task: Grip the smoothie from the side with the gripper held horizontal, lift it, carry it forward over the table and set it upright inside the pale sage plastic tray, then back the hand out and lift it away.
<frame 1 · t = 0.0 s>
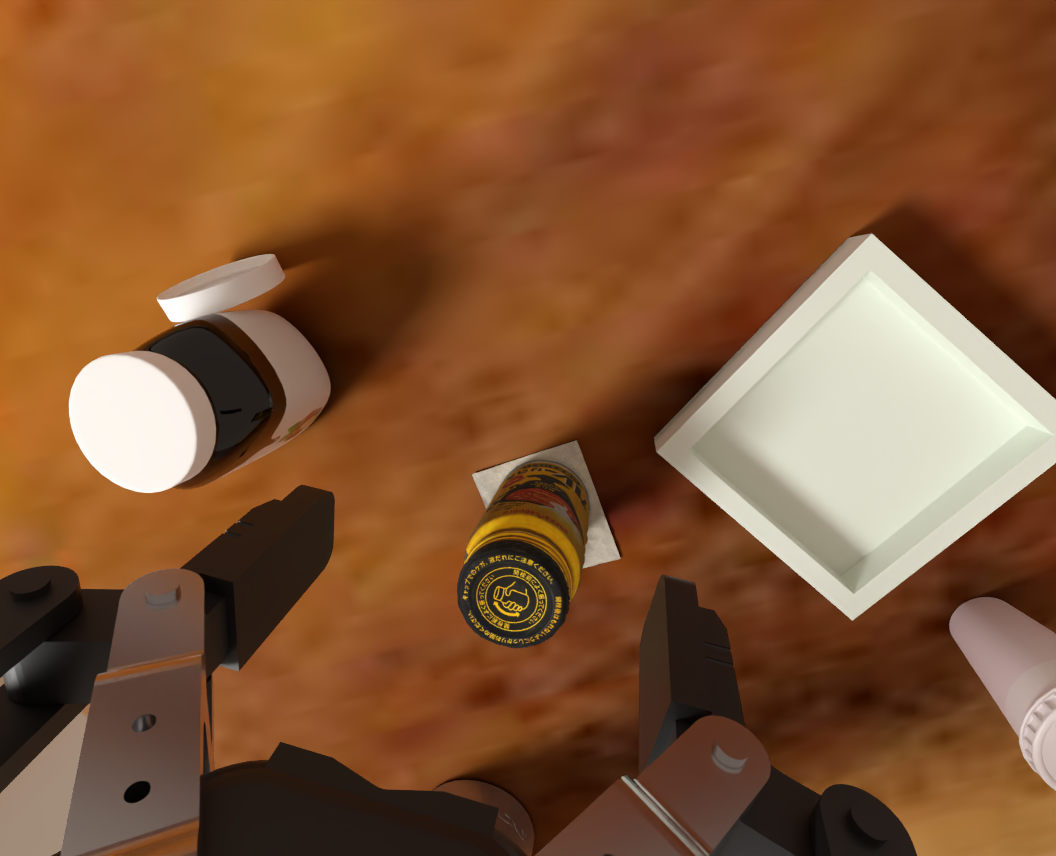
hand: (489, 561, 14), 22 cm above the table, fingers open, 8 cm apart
tray: (840, 429, 33), on the table
spread jar: (268, 351, 38), on the table
condiment: (546, 513, 38), on the table
smoothie: (981, 622, 35), on the table
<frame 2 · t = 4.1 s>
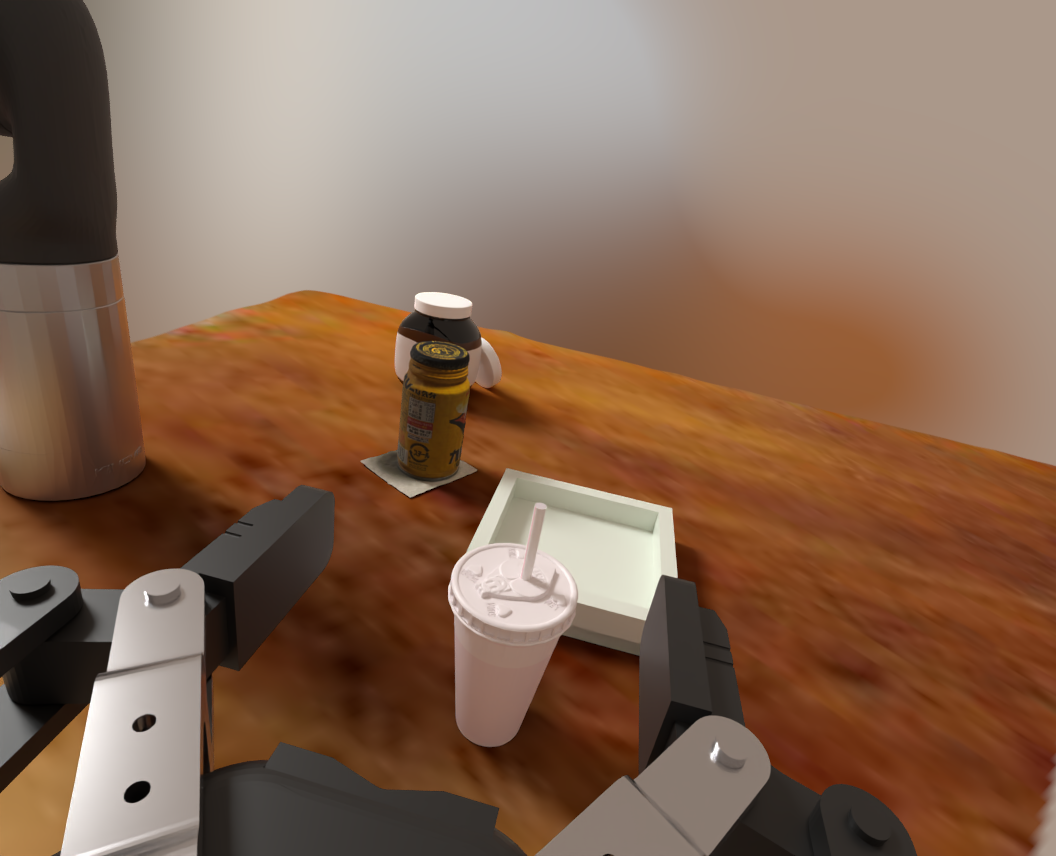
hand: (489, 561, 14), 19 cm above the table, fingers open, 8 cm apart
tray: (571, 566, 45), on the table
spread jar: (448, 389, 74), on the table
condiment: (420, 469, 55), on the table
smoothie: (487, 718, 32), on the table
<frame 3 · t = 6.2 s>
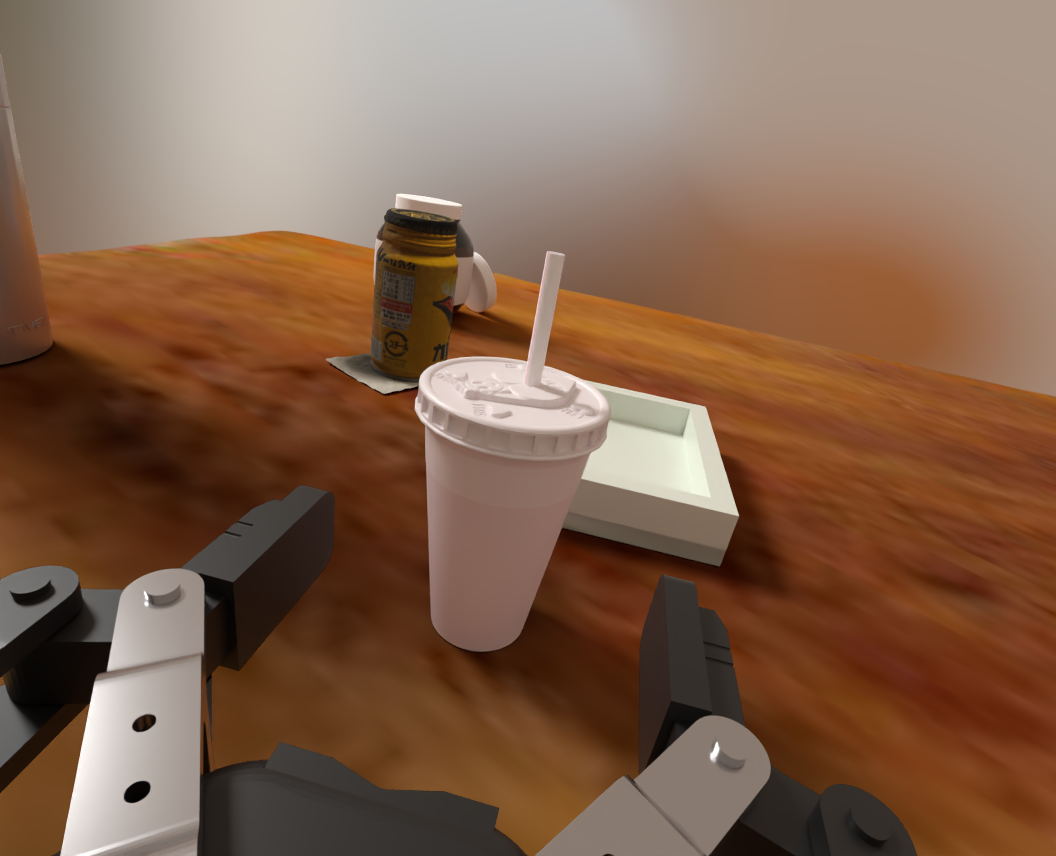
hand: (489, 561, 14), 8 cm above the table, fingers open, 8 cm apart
tray: (584, 465, 36), on the table
spread jar: (435, 311, 65), on the table
condiment: (398, 373, 46), on the table
smoothie: (477, 618, 23), on the table
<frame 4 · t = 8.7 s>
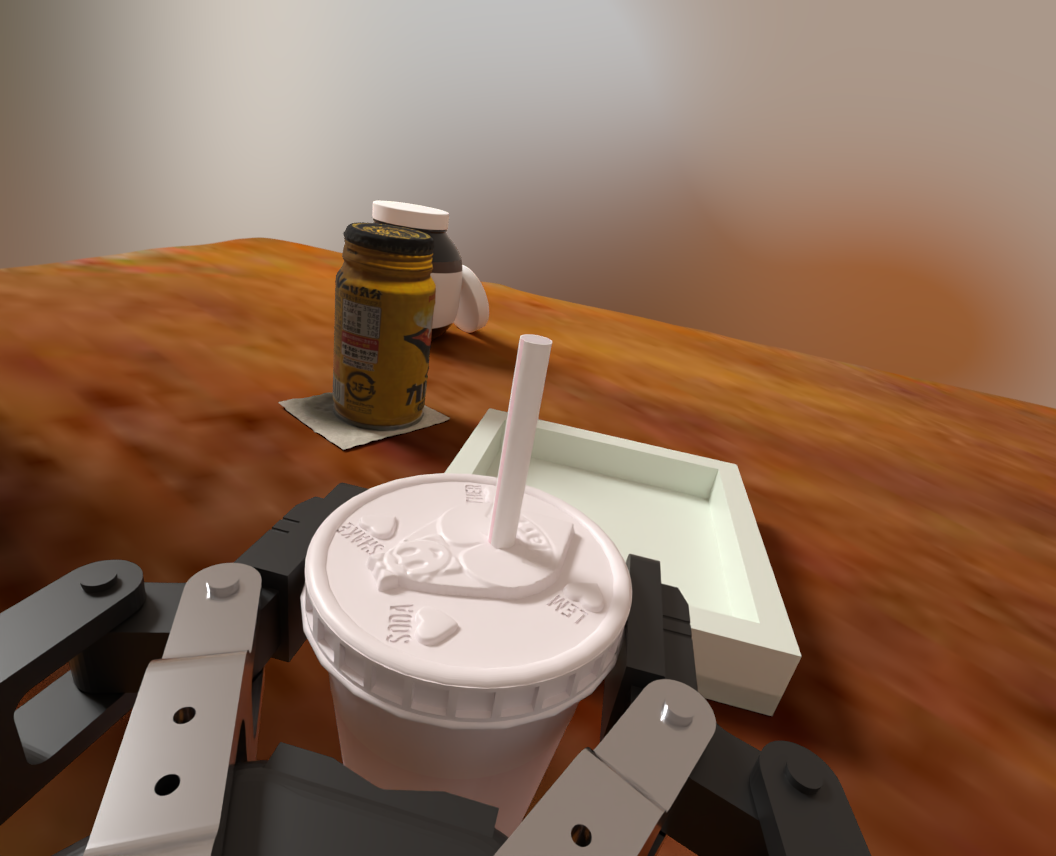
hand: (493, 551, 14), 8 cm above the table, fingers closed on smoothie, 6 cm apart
tray: (589, 548, 28), on the table
spread jar: (420, 332, 58), on the table
condiment: (366, 417, 38), on the table
smoothie: (430, 849, 15), on the table, touching gripper
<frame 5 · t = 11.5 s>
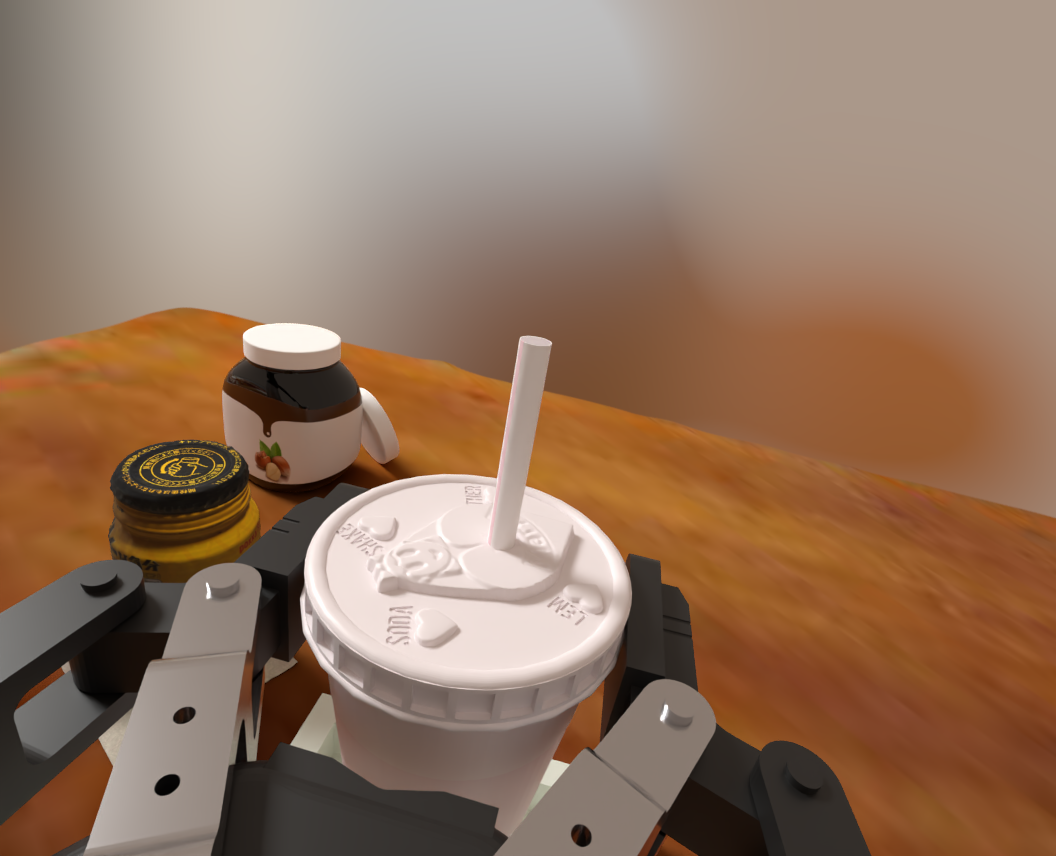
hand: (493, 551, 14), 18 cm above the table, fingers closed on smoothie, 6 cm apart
spread jar: (319, 467, 49), on the table
condiment: (184, 669, 30), on the table
smoothie: (429, 850, 15), point 9 cm above the table, touching gripper
when the fingers open (10 cm above the table, at t = 14.4 s): smoothie drops 1 cm, resting on tray.
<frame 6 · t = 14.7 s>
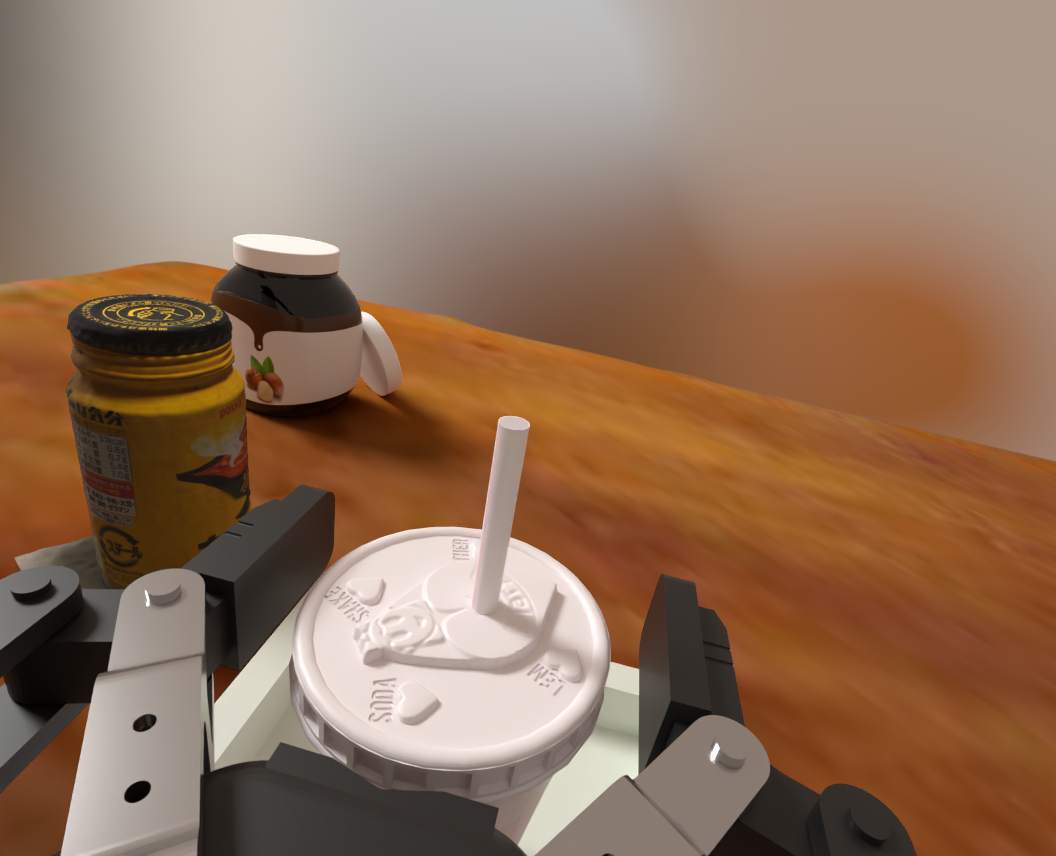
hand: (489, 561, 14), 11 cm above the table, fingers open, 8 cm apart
spread jar: (316, 398, 45), on the table
condiment: (159, 571, 26), on the table
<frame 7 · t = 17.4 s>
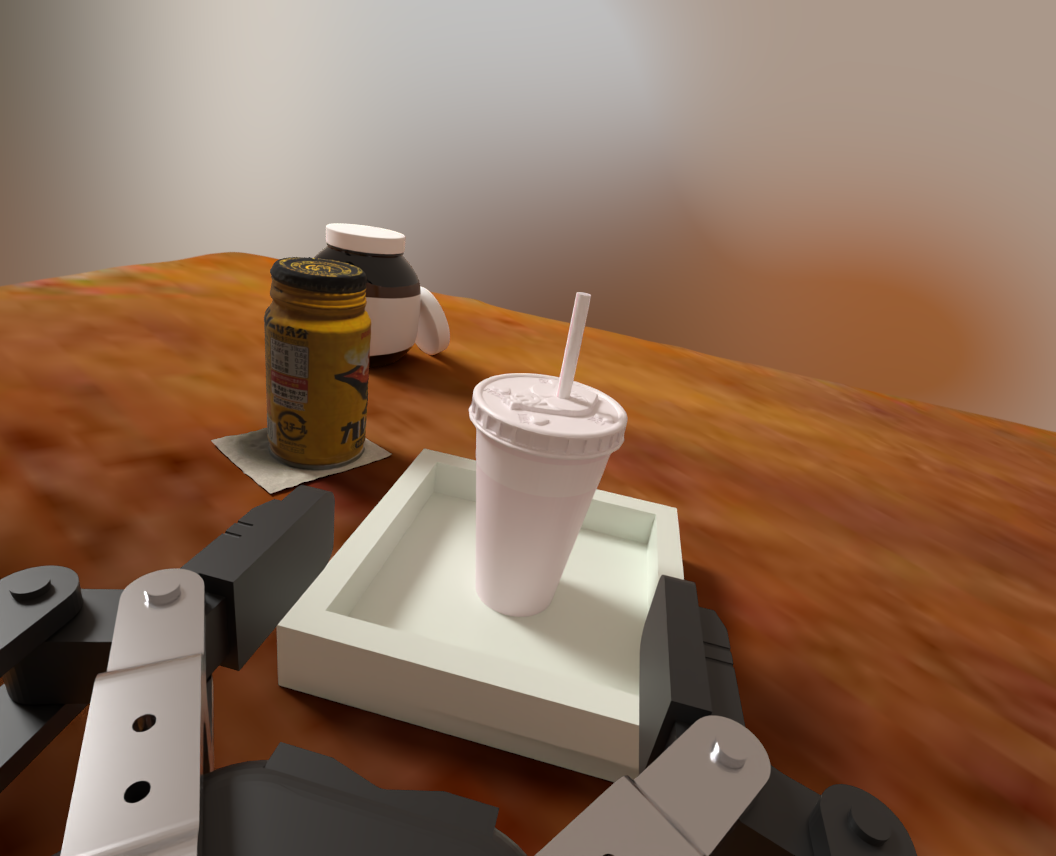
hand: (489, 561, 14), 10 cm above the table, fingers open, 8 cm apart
tray: (512, 603, 27), on the table
spread jar: (380, 355, 57), on the table
condiment: (304, 453, 37), on the table
smoothie: (513, 591, 27), point 1 cm above the table, touching tray
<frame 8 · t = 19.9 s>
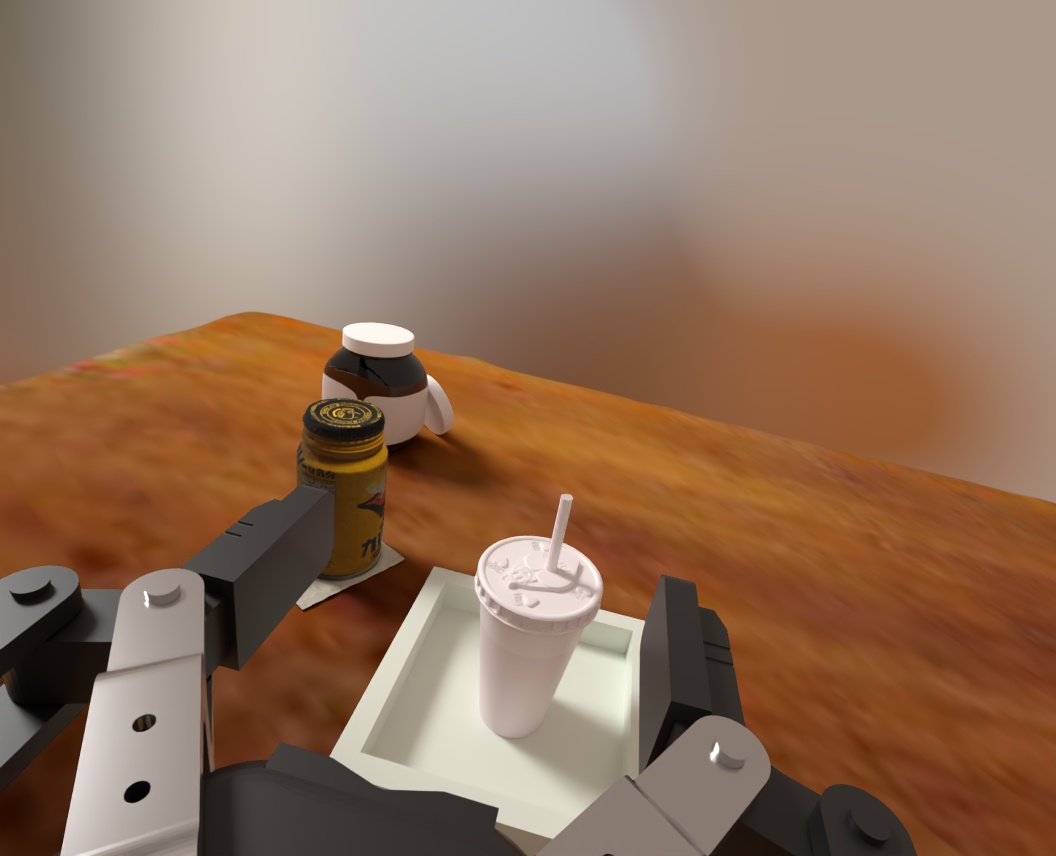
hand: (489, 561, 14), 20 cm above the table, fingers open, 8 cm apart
tray: (510, 719, 33), on the table
spread jar: (390, 437, 62), on the table
condiment: (328, 560, 43), on the table
smoothie: (510, 711, 32), point 1 cm above the table, touching tray
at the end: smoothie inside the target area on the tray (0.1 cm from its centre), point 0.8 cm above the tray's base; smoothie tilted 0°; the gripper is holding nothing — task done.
